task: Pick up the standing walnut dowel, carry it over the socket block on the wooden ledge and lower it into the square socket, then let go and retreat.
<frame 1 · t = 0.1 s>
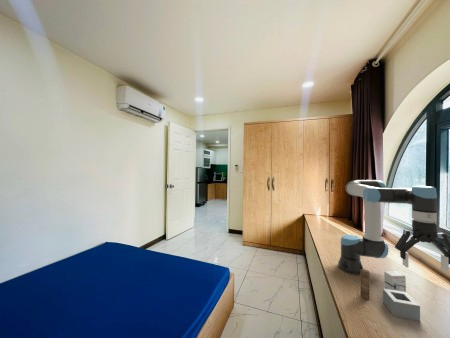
hand: (424, 268, 80), 28 cm above the cabinet, fingers open, 13 cm apart
ink box: (394, 293, 104), on the cabinet
socket block: (400, 310, 91), on the cabinet
walnut dowel: (364, 297, 101), on the cabinet
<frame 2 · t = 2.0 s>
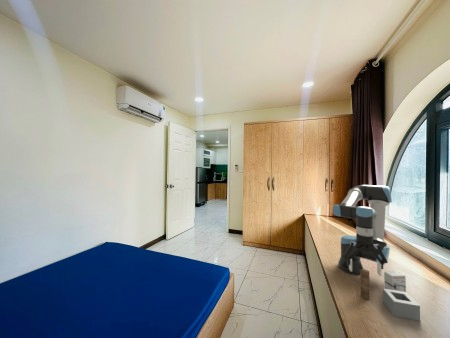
hand: (364, 272, 101), 14 cm above the cabinet, fingers open, 13 cm apart
nothing on the cabinet moved.
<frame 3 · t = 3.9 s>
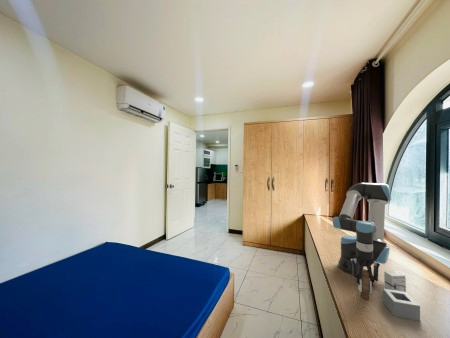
hand: (364, 291, 101), 4 cm above the cabinet, fingers closed on walnut dowel, 4 cm apart
walnut dowel: (364, 297, 101), on the cabinet, touching gripper
everything else where it was.
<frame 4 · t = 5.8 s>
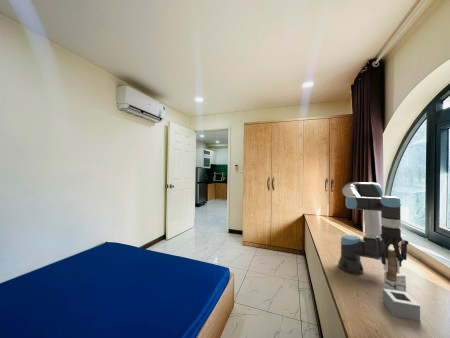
hand: (391, 271, 93), 19 cm above the cabinet, fingers closed on walnut dowel, 4 cm apart
walnut dowel: (391, 279, 93), point 15 cm above the cabinet, touching gripper
everything else where it was.
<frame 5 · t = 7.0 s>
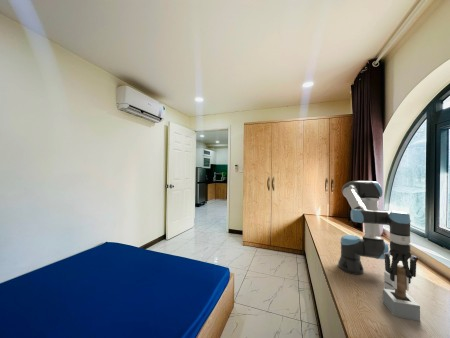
hand: (400, 288, 92), 12 cm above the cabinet, fingers closed on walnut dowel, 4 cm apart
walnut dowel: (400, 296, 91), point 7 cm above the cabinet, touching gripper
everything else where it was.
when the fingers open (9 cm above the cabinet, at t = 7.9 s): walnut dowel drops 4 cm, resting in socket block.
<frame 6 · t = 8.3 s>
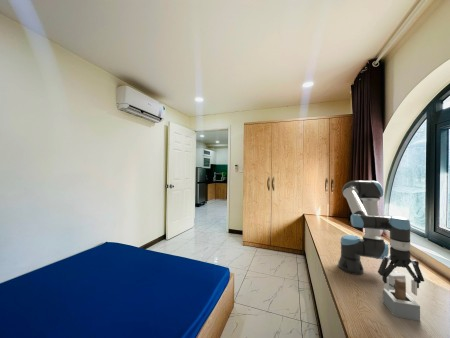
hand: (400, 291, 92), 10 cm above the cabinet, fingers open, 10 cm apart
walnut dowel: (400, 310, 91), resting in socket block
everything else where it was.
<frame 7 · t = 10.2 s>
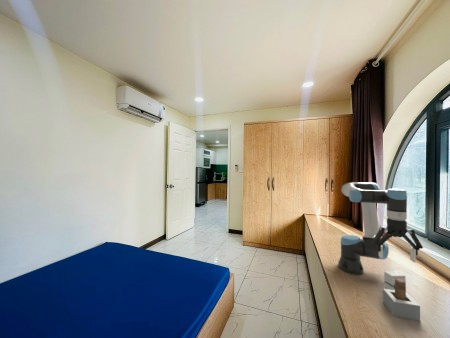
hand: (396, 259, 94), 25 cm above the cabinet, fingers open, 13 cm apart
nothing on the cabinet moved.
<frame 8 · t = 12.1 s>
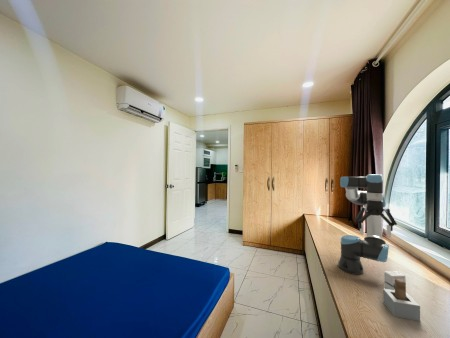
hand: (374, 235, 108), 33 cm above the cabinet, fingers open, 13 cm apart
nothing on the cabinet moved.
at the end: walnut dowel 0.0 cm off-centre on the socket block, point 0.0 cm above the socket block's base; walnut dowel tilted 0°; the gripper is holding nothing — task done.
